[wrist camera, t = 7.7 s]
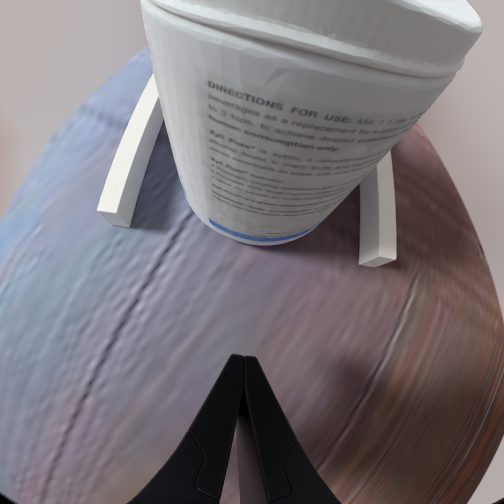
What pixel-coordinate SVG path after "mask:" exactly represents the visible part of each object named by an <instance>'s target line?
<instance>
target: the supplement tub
mask: <svg viewBox="0 0 504 504" xmlns="http://www.w3.org/2000/svg"><path fill="white" fill-rule="evenodd" d="M140 2H141V8H142V14H143V20H144V26H145V33H146V38H147V44H148V49H149V54H150V59H151V63H152V68H153V73H154V78H155V82H156V87H157V91H158V95H159V99H160V104H161V108H162V112H163V116H164V120H165V124H166V128H167V132H168V136H169V140H170V144H171V148H172V152H173V156H174V160H175V163H176V167H177V171H178V174H179V178H180V181H181V185H182V188H183V191H184V194H185V196H186V199H187V201H188V203H189V205H190V206H191V208H192V209H193V211H194V212H195V213H196V215H197V216H198V217H199V218H200V219H201V220H202V221H203V222H204V223H205V224H207V225H208V226H209V227H210V228H212V229H213V230H215V231H216V232H218V233H220V234H222V235H224V236H226V237H228V238H230V239H233V240H236V241H239V242H242V243H247V244H252V245H277V244H283V243H287V242H290V241H293V240H295V239H298V238H300V237H302V236H304V235H306V234H308V233H309V232H311V231H312V230H314V229H315V228H316V227H317V226H318V225H319V224H320V223H321V222H322V221H323V220H324V219H325V218H326V217H327V216H328V215H329V214H330V213H331V212H332V211H333V210H334V209H335V208H336V207H337V206H338V205H339V204H340V203H341V202H342V201H343V200H344V199H345V198H346V197H347V196H348V195H349V194H350V193H351V191H352V190H353V189H354V188H355V187H356V186H357V185H358V184H359V183H360V182H361V181H362V180H363V179H364V178H365V177H366V176H367V175H368V174H369V172H370V171H371V170H372V169H373V168H374V167H375V166H376V165H377V164H378V163H379V162H380V161H381V160H382V159H383V157H384V156H385V155H386V154H387V153H388V152H389V151H390V150H391V149H392V148H393V147H394V146H395V145H396V143H397V142H398V141H399V140H400V139H401V138H402V137H403V136H404V135H405V134H406V133H407V132H408V130H409V129H410V128H411V127H412V126H413V125H414V124H415V123H416V122H417V121H418V119H419V118H420V117H421V116H422V115H423V114H424V113H425V112H426V111H427V109H428V108H429V107H430V106H431V105H432V104H433V102H434V101H435V100H436V99H437V97H438V96H439V95H440V94H441V93H442V92H443V90H444V89H445V88H446V87H447V86H448V85H449V83H450V82H451V81H452V79H453V78H454V76H455V74H456V72H457V71H458V70H459V69H460V68H461V67H462V65H463V63H464V57H465V55H466V54H467V53H468V51H469V50H470V49H471V47H472V46H473V45H474V43H475V42H476V41H477V40H478V38H479V36H480V35H481V33H482V31H483V26H482V22H481V20H480V18H479V16H478V15H477V13H476V12H475V10H474V9H473V8H472V7H471V6H470V5H469V4H468V3H467V1H466V0H140Z"/></svg>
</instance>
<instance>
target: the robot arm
mask: <svg viewBox="0 0 504 504" xmlns="http://www.w3.org/2000/svg"><path fill="white" fill-rule="evenodd" d="M235 427H236V434H237V453H238V471H239V488H240V503H241V504H341V503H340V501H339V500H338V499H337V498H336V497H335V495H334V494H333V493H332V492H331V490H330V489H329V488H328V486H327V485H326V484H325V482H324V481H323V480H322V478H321V477H320V476H319V474H318V473H317V472H316V470H315V469H314V467H313V466H312V464H311V463H310V461H309V460H308V458H307V456H306V454H305V453H304V451H303V449H302V447H301V445H300V443H299V442H298V441H296V440H297V438H296V436H295V434H294V432H293V430H292V428H291V426H290V424H289V422H288V420H287V418H286V417H285V415H284V413H283V411H282V409H281V407H280V405H279V403H278V401H277V399H276V397H275V395H274V393H273V390H272V388H271V386H270V384H269V382H268V380H267V378H266V376H265V374H264V372H263V370H262V368H261V366H260V364H259V362H258V359H257V358H256V357H254V356H244V357H243V355H238V354H231V355H230V357H229V359H228V361H227V362H226V364H225V366H224V368H223V370H222V371H221V373H220V375H219V377H218V379H217V380H216V382H215V384H214V386H213V388H212V389H211V391H210V393H209V395H208V396H207V398H206V400H205V402H204V403H203V405H202V407H201V409H200V410H199V412H198V414H197V416H196V417H195V419H194V421H193V422H192V424H191V426H190V428H189V429H188V432H186V434H185V436H184V437H183V439H182V441H181V442H180V444H179V445H178V447H177V449H176V450H175V452H174V453H173V454H172V455H171V457H170V458H169V459H168V461H167V462H166V463H165V464H164V466H163V467H162V468H161V469H160V470H159V471H158V473H157V474H156V475H155V476H154V477H153V478H152V479H151V481H150V482H149V483H148V484H147V485H146V486H145V487H144V488H143V489H142V490H141V491H140V492H139V493H138V494H137V495H136V496H135V497H134V498H133V499H132V500H131V501H129V502H128V503H127V504H219V502H220V501H219V500H220V498H221V493H222V489H223V484H224V480H225V475H226V470H227V466H228V461H229V456H230V451H231V447H232V442H233V437H234V432H235ZM0 504H18V503H16V502H15V501H13V500H12V499H10V498H9V497H7V496H6V495H4V494H3V493H1V492H0ZM493 504H504V498H502V499H500V500H498V501H497V502H495V503H493Z"/></svg>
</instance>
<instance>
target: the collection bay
mask: <svg viewBox="0 0 504 504" xmlns="http://www.w3.org/2000/svg"><path fill="white" fill-rule="evenodd" d="M163 120H164V116H163V112H162V108H161V104H160V99H159V95H158V91H157V87H156V82H155V78H154V73H153V74H152V76H151V78H150V80H149V82H148V84H147V86H146V88H145V90H144V92H143V94H142V96H141V98H140V100H139V102H138V104H137V106H136V108H135V110H134V112H133V115H132V117H131V119H130V121H129V123H128V126H127V128H126V130H125V133H124V135H123V138H122V140H121V142H120V145H119V147H118V150H117V153H116V155H115V158H114V160H113V163H112V166H111V169H110V171H109V174H108V177H107V180H106V183H105V186H104V189H103V192H102V195H101V198H100V202H99V205H98V208H97V211H98V212H99V213H100V214H101V215H102V216H103V217H104V218H105V219H106V220H107V221H108V222H109V223H110V224H112V225H115V226H122V227H128V228H130V224H131V220H132V216H133V213H134V209H135V205H136V202H137V198H138V195H139V191H140V188H141V185H142V181H143V178H144V175H145V172H146V169H147V165H148V162H149V159H150V156H151V153H152V151H153V148H154V145H155V142H156V139H157V136H158V134H159V131H160V128H161V126H162V123H163ZM394 260H396V210H395V193H394V180H393V169H392V159H391V151H389V152H388V153H387V154H386V155H385V156H384V157H383V159H382V160H381V161H380V162H379V163H378V164H377V165H376V166H375V167H374V168H373V169H372V170H371V171H370V172H369V174H368V175H367V176H366V177H365V178H364V179H363V180H362V181H361V182H360V247H359V265H363V266H369V267H378V266H380V265H383V264H386V263H389V262H391V261H394Z"/></svg>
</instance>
